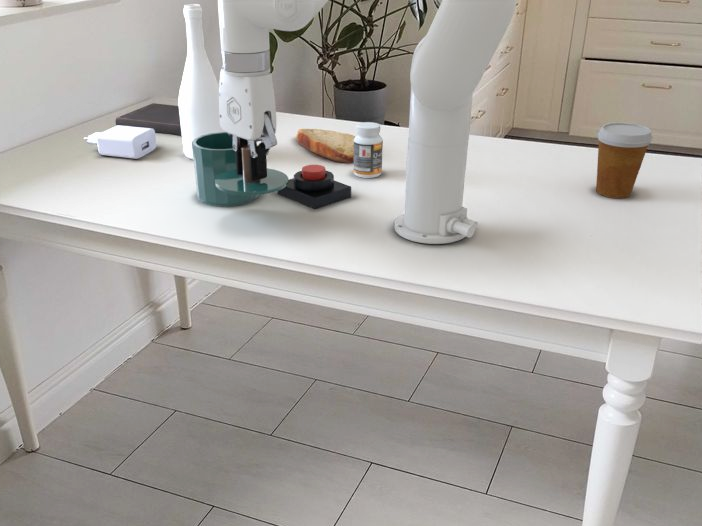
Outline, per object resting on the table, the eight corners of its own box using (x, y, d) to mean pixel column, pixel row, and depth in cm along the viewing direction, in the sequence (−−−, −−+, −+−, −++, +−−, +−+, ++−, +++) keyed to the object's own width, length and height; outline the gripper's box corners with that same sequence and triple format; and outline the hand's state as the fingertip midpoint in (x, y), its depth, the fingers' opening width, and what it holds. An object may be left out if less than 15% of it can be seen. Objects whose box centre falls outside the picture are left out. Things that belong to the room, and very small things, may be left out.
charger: (99, 142, 173) (157, 148, 168) (75, 154, 165) (135, 160, 161) (96, 121, 170) (154, 127, 166) (72, 132, 163) (132, 138, 159)
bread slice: (300, 135, 176) (299, 119, 174) (375, 140, 172) (375, 124, 170) (275, 158, 161) (274, 141, 159) (357, 165, 157) (357, 147, 155)
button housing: (351, 197, 141) (351, 177, 139) (315, 209, 136) (314, 188, 134) (313, 183, 148) (312, 163, 146) (277, 194, 143) (276, 173, 141)
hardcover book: (154, 112, 195) (152, 103, 194) (231, 121, 187) (230, 111, 186) (116, 128, 183) (114, 118, 182) (197, 138, 175) (196, 128, 174)
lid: (303, 187, 127) (302, 148, 124) (244, 204, 120) (241, 163, 117) (259, 169, 135) (257, 132, 132) (201, 184, 128) (197, 145, 125)
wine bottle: (235, 156, 163) (225, 5, 147) (196, 164, 158) (180, 9, 142) (215, 146, 169) (203, 0, 154) (176, 153, 165) (160, 4, 149)
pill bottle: (379, 179, 149) (381, 129, 144) (351, 178, 150) (351, 128, 145) (383, 170, 154) (385, 121, 149) (355, 169, 155) (356, 120, 150)
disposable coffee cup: (585, 198, 140) (597, 133, 134) (588, 181, 147) (600, 120, 141) (639, 204, 137) (654, 138, 131) (640, 187, 145) (654, 124, 138)
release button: (330, 177, 140) (330, 168, 139) (312, 183, 137) (312, 173, 137) (314, 171, 143) (314, 162, 142) (297, 177, 140) (296, 168, 139)
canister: (270, 196, 142) (267, 141, 136) (220, 211, 136) (215, 154, 130) (235, 181, 149) (231, 128, 144) (186, 195, 143) (180, 140, 137)
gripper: (196, 57, 120) (206, 169, 130) (258, 73, 110) (263, 194, 120) (235, 51, 124) (241, 160, 134) (298, 66, 114) (299, 183, 124)
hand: (251, 175), depth 127 cm, fingers closed on lid, 3 cm apart
